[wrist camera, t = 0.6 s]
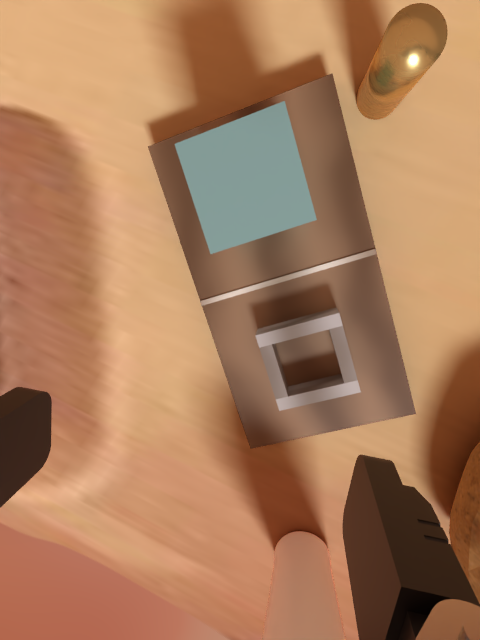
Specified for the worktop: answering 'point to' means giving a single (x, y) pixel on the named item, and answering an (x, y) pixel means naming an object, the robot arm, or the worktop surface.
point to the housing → (247, 179)
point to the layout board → (298, 291)
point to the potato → (468, 521)
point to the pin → (401, 59)
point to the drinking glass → (302, 592)
